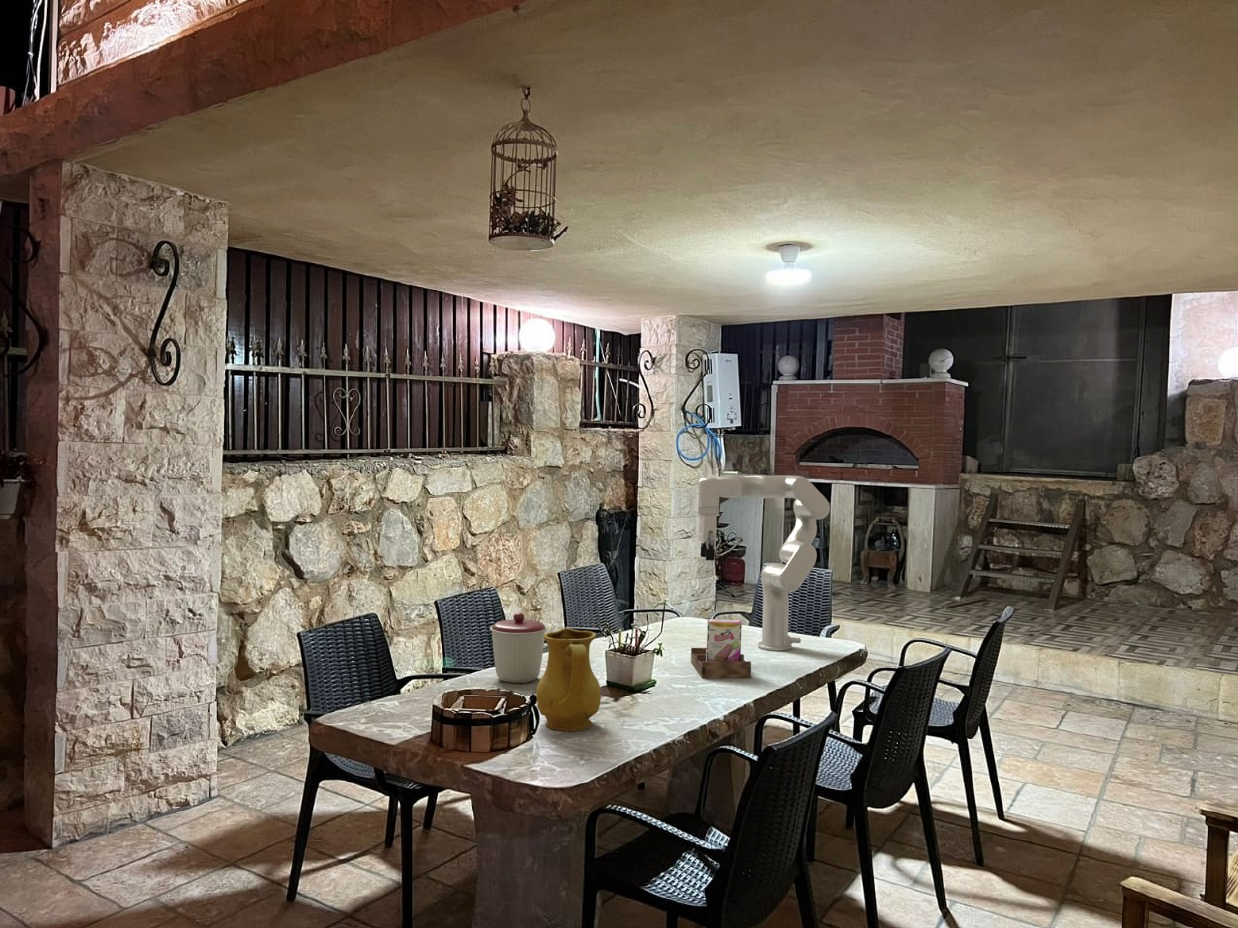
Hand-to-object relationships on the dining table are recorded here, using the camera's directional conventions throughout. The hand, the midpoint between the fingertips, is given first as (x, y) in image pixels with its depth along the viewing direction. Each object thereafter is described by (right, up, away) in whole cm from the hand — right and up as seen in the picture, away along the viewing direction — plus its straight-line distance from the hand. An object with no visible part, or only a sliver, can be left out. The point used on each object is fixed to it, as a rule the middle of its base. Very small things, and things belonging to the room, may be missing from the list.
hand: (707, 558), depth 321 cm
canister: (-64, -34, -42) cm, 84 cm away
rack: (+2, -35, -25) cm, 43 cm away
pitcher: (-46, -35, -88) cm, 105 cm away
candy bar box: (+2, -34, -30) cm, 45 cm away
